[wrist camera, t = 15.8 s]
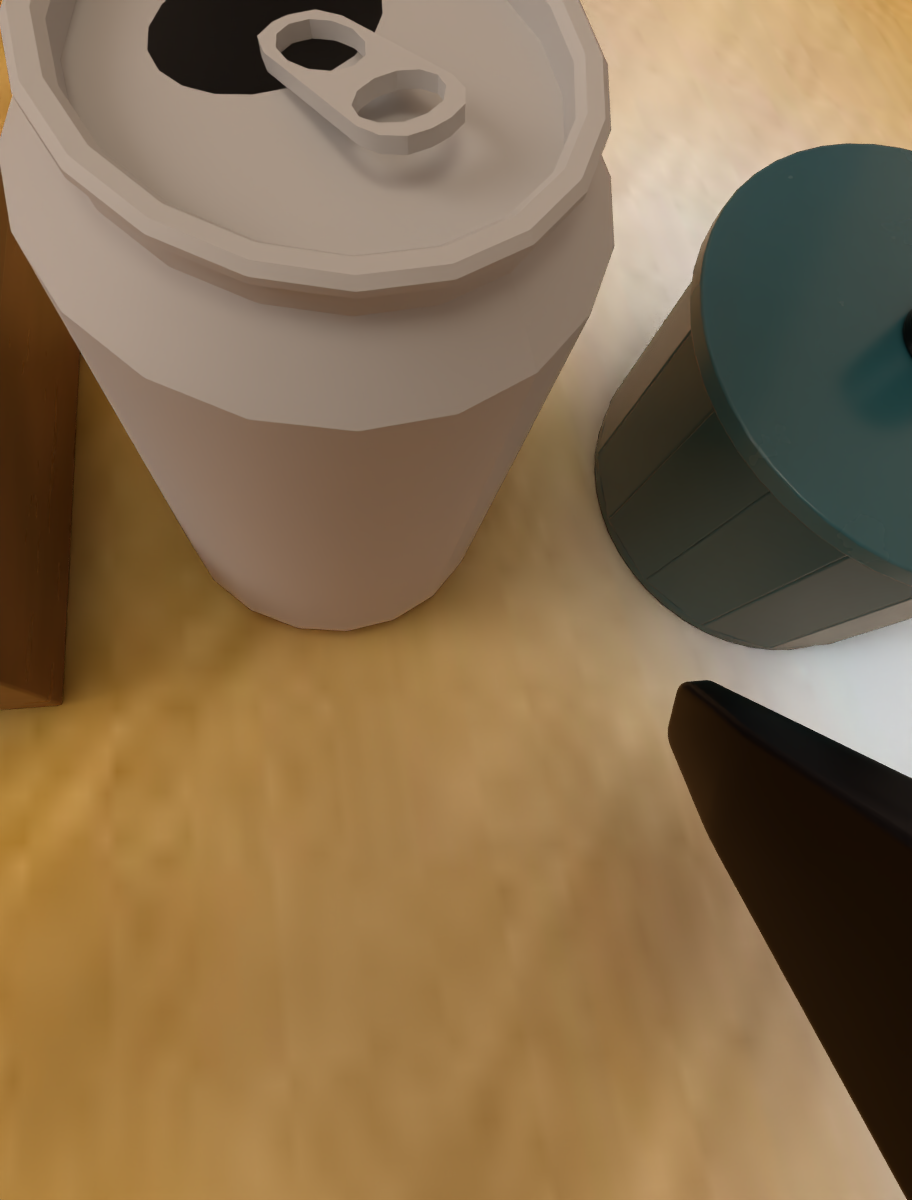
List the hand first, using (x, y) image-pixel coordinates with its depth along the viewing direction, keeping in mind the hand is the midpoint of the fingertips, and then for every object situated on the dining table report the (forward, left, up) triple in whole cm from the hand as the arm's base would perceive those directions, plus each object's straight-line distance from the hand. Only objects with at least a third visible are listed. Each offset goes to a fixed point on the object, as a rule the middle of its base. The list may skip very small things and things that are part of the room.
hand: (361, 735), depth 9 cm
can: (+3, -6, -8) cm, 11 cm away
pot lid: (-8, -12, -2) cm, 14 cm away
